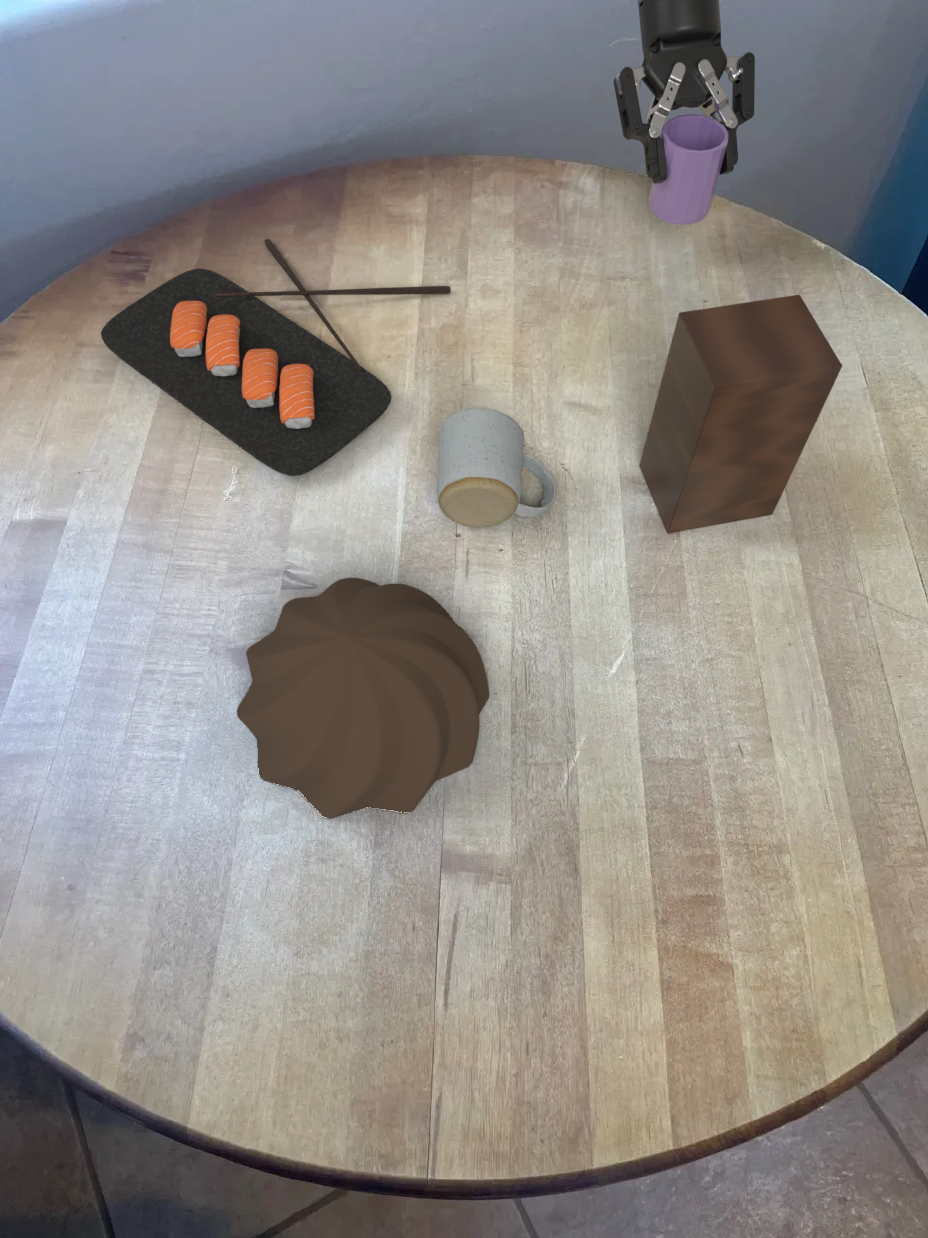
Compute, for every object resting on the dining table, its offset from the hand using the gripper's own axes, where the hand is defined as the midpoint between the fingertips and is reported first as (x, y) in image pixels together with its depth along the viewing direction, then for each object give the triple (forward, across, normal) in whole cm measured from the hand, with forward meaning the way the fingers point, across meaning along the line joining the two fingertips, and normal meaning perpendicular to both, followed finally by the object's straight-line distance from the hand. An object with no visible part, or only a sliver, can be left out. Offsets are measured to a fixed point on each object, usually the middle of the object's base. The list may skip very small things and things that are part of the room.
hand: (693, 176), depth 96 cm
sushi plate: (+10, +41, -4) cm, 42 cm away
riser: (+29, +8, +15) cm, 34 cm away
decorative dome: (+39, +42, +25) cm, 63 cm away
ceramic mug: (+27, +27, +13) cm, 40 cm away
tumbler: (+2, 0, -4) cm, 5 cm away
